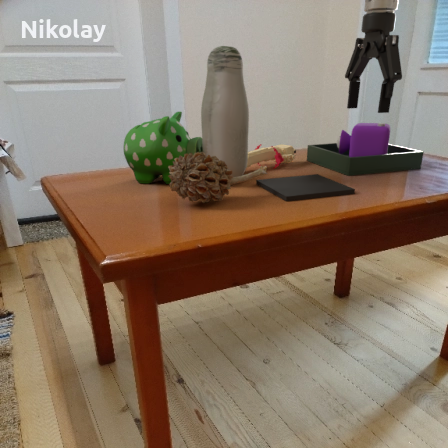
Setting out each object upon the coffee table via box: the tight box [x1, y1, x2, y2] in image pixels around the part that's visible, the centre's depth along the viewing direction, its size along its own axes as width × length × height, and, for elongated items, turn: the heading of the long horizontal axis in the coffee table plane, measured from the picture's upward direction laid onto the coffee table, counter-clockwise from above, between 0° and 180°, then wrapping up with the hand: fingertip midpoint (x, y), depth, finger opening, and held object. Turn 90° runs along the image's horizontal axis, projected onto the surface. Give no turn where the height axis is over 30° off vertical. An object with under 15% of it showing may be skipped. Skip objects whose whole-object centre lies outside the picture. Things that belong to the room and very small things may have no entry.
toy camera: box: [336, 122, 391, 157], centre depth 117 cm, size 11×14×10 cm
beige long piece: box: [246, 143, 297, 169], centre depth 115 cm, size 10×9×25 cm
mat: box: [255, 173, 356, 202], centre depth 97 cm, size 16×16×1 cm
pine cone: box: [168, 152, 270, 204], centre depth 88 cm, size 22×10×10 cm, turn 120°
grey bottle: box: [200, 45, 250, 178], centre depth 97 cm, size 10×10×28 cm
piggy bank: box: [123, 111, 203, 185], centre depth 103 cm, size 14×18×15 cm
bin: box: [306, 142, 425, 177], centre depth 119 cm, size 22×22×4 cm
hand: (366, 110), depth 114 cm, fingers open, 13 cm apart
